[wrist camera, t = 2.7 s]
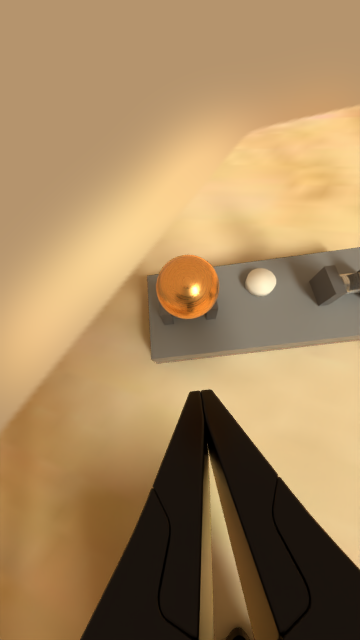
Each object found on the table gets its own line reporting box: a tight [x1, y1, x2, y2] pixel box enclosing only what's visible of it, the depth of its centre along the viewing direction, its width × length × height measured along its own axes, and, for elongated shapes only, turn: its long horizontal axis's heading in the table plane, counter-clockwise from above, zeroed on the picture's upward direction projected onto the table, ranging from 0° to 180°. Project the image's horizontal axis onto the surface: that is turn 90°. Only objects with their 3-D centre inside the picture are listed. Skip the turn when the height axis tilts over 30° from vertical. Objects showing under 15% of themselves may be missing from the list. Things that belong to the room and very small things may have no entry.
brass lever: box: [156, 255, 220, 319], centre depth 12 cm, size 3×3×10 cm
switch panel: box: [147, 247, 360, 363], centre depth 17 cm, size 20×8×5 cm, turn 96°
